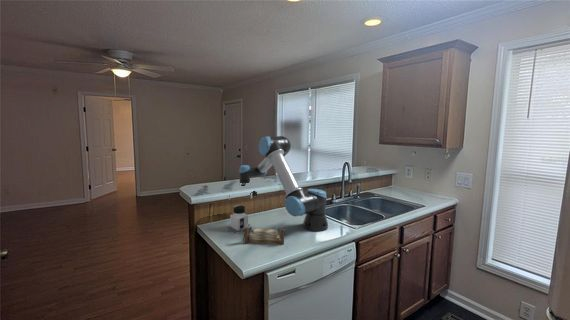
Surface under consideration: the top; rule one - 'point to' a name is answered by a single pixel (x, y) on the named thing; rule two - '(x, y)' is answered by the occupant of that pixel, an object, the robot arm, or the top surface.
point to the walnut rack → (247, 235)
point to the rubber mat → (236, 230)
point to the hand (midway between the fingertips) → (240, 197)
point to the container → (239, 218)
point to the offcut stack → (264, 234)
